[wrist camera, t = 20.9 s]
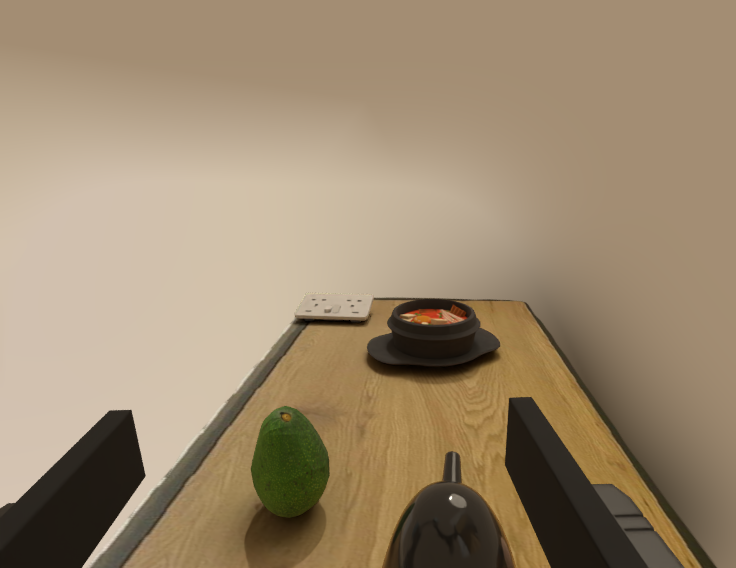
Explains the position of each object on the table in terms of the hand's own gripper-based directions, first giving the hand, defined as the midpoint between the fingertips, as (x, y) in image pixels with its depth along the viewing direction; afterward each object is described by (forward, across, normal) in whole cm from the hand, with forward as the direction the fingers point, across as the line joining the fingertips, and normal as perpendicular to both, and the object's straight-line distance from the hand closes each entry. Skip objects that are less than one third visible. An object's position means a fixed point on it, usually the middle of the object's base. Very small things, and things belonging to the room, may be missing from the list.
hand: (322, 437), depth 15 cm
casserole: (+62, +13, -27) cm, 69 cm away
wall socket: (+83, -7, -27) cm, 87 cm away
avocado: (+25, -7, -27) cm, 37 cm away
